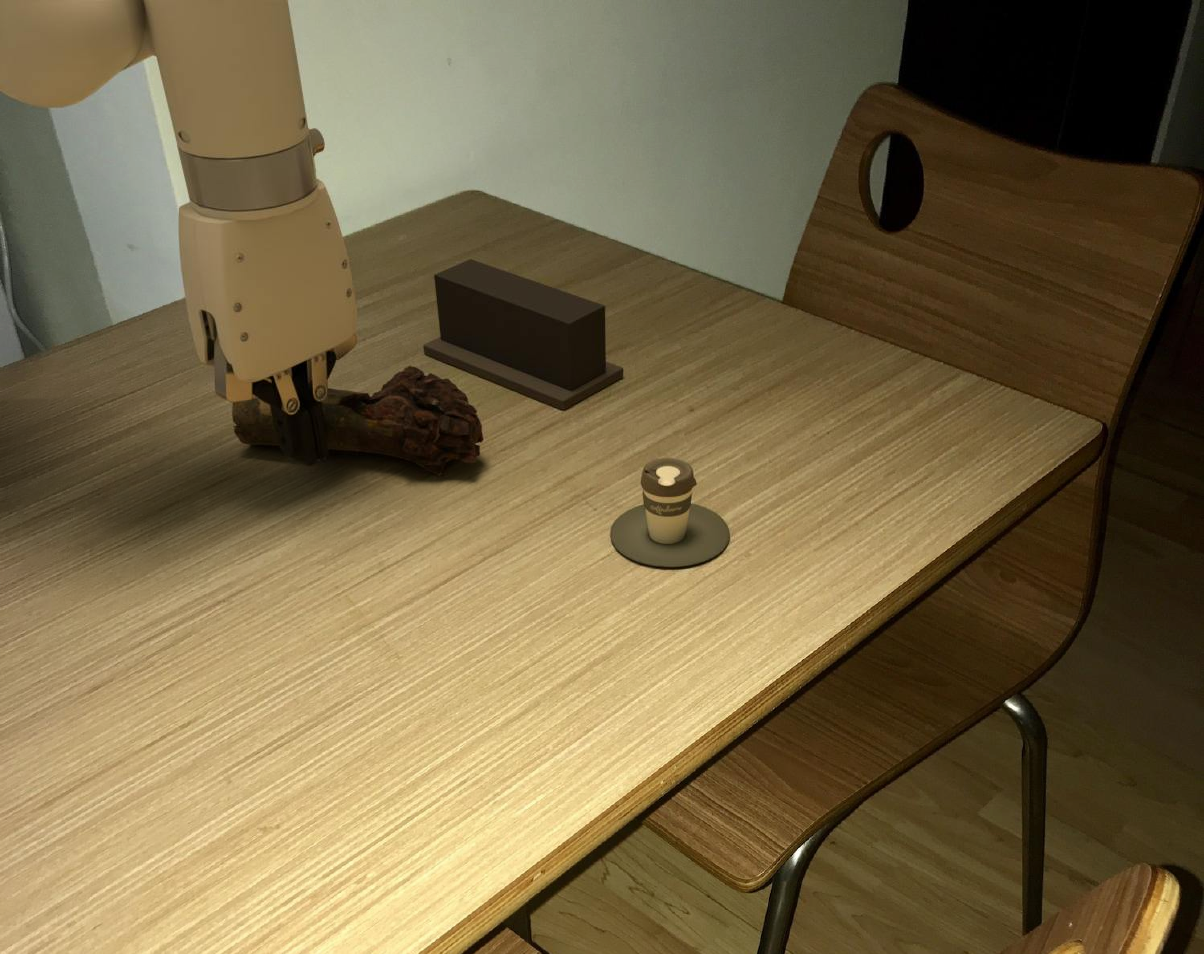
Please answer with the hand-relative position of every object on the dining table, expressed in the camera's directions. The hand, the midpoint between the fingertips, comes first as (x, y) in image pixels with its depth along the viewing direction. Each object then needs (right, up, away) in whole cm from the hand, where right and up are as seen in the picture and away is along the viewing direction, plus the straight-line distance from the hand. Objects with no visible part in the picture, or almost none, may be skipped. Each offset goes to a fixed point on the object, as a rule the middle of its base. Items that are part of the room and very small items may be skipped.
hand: (305, 455), depth 88 cm
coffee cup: (+24, -7, -5) cm, 26 cm away
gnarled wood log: (+4, +1, +4) cm, 6 cm away
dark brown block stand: (+14, +11, +13) cm, 22 cm away
